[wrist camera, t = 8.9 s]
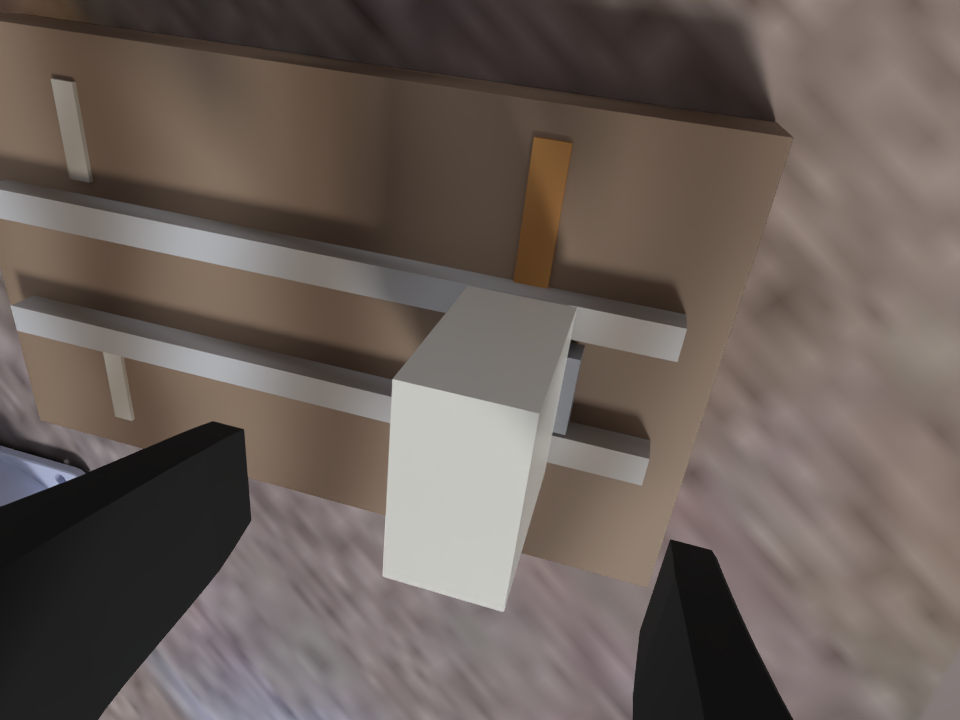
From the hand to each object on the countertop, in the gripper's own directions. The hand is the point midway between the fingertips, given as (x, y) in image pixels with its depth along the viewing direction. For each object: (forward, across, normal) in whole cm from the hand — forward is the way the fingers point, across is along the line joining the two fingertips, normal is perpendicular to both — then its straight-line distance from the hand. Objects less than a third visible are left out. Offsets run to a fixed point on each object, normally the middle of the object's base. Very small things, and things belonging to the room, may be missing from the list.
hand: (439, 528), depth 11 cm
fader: (+6, 0, 0) cm, 6 cm away
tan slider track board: (+8, +5, 0) cm, 10 cm away
